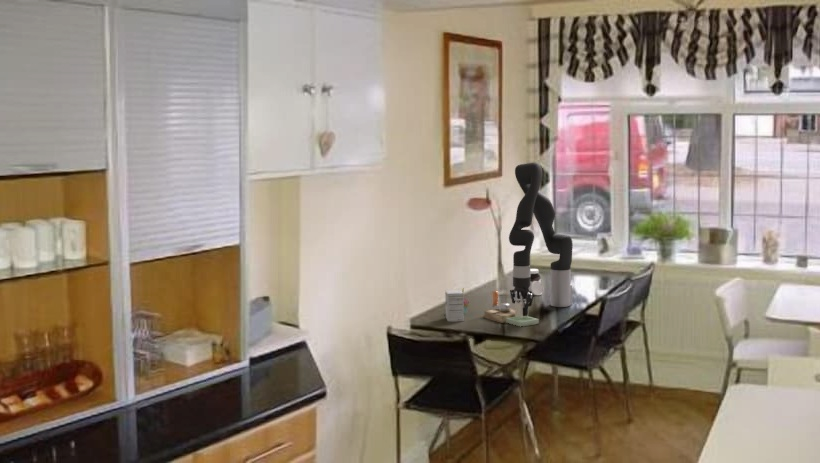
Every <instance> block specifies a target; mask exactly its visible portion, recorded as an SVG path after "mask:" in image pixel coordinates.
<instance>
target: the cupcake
mask: <svg viewBox="0 0 820 463" xmlns="http://www.w3.org/2000/svg"><path fill="white" fill-rule="evenodd" d="M464 288H465V287H463V288H462V290H461V291H462V292H463V293H464V290H465V289H464ZM469 303H470V302H469V300H468V299H467V298H464V315H465V314H466V311H467V309H468V306H469V305H470V304H469Z"/></svg>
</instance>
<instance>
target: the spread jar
mask: <svg viewBox="0 0 820 463" xmlns="http://www.w3.org/2000/svg"><path fill="white" fill-rule="evenodd" d="M530 276H531V279H530V280H531V285H530V287H529V293H531V294H534V296H541V295H542V294H543V293H544V291H545V288H544V285H543V283H542V276H541V275H540V274H539V269H538V268H530Z"/></svg>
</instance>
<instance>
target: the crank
mask: <svg viewBox="0 0 820 463" xmlns="http://www.w3.org/2000/svg"><path fill="white" fill-rule="evenodd" d="M511 304H512V303H509V302H502V303H501V302H500V303H499V291H498V290H493V291H492V308H494V309H499V311H500V312H510V311H511V308H512V307H511V306H512V305H511Z"/></svg>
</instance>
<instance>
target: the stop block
mask: <svg viewBox="0 0 820 463" xmlns="http://www.w3.org/2000/svg"><path fill="white" fill-rule="evenodd" d="M525 304H526V302H525ZM514 309H515V316H516V317H520V318H523V317H528V316H529V314H528V315H527V316H523V304H522V302H519V301H518V302H516V303H515V304H514Z"/></svg>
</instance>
